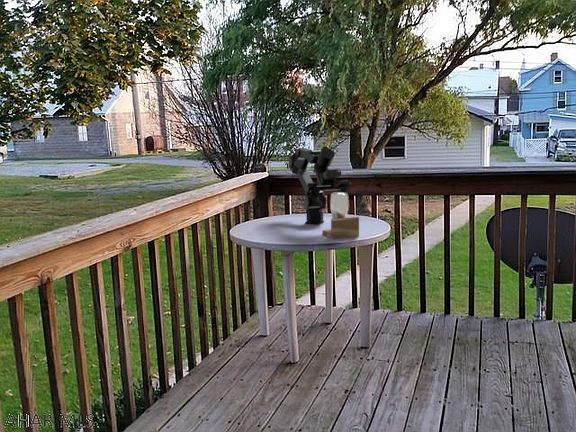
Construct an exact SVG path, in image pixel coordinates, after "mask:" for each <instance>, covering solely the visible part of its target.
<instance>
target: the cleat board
mask: <svg viewBox="0 0 576 432" xmlns="http://www.w3.org/2000/svg"><path fill="white" fill-rule="evenodd" d="M322 235H323V236H326V237H329V238H331V239H332V240H334V239H344V238H355V237H360V217H359V216H356V215H355V216H349V217H348V216H347V217H345V218H333V219H332V218H330V228H329V229H322Z"/></svg>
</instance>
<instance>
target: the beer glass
mask: <svg viewBox="0 0 576 432" xmlns="http://www.w3.org/2000/svg"><path fill="white" fill-rule="evenodd" d="M329 197H330V199H329V200H330V202H329V203H330V204H329V206H330V211H331V213H330V214H331V219H333V218H345V217H348V212H349V198H348V193H346V192H338V191H336V192H330V196H329Z"/></svg>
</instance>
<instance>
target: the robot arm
mask: <svg viewBox="0 0 576 432" xmlns="http://www.w3.org/2000/svg"><path fill="white" fill-rule="evenodd" d="M334 158H335V152H334V151H333V150H332V149H331V148H328V146H322V148H321V149H314V150H312V149H309V148H306V147H302V148H300V147H299V148H297V149H295V152H294V153H293V154H291V156H290V157H289V159H288V164H287V165H288V169H289V170H290V171H291V173H292V174H294V175H296V176H297V177H298V180H299V181H300V183H301V186H302V188H303V190H304V194H305V199H304V200H303V204H302V207H303V210H305V211H306V221H305V222H304V224H309V225H319V224H323V223H324V222H325V220H324V212H323V210H326V204H327V197H326V195H325V192H326V191H337V192H346V193H347V194H348V193H349V191H350V189H351V187H352V183H351V181H350V180H347V179H346V180H340V182H339V183H338V184H335V183H336V182H337V181H336V179H337V178H340V177H341V176H342V170H341V169H340V168H337V167H336V168H334V169H329V167H330V166H331V165H332V163H333V161H334ZM309 164H310V165H312V164H313V173H314V174H315V175H316V178H317V179H316V182H313V179H312V177H311V175H310V174H309V171H308V170H307V168H308V166H309ZM324 191H325V192H324Z"/></svg>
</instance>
